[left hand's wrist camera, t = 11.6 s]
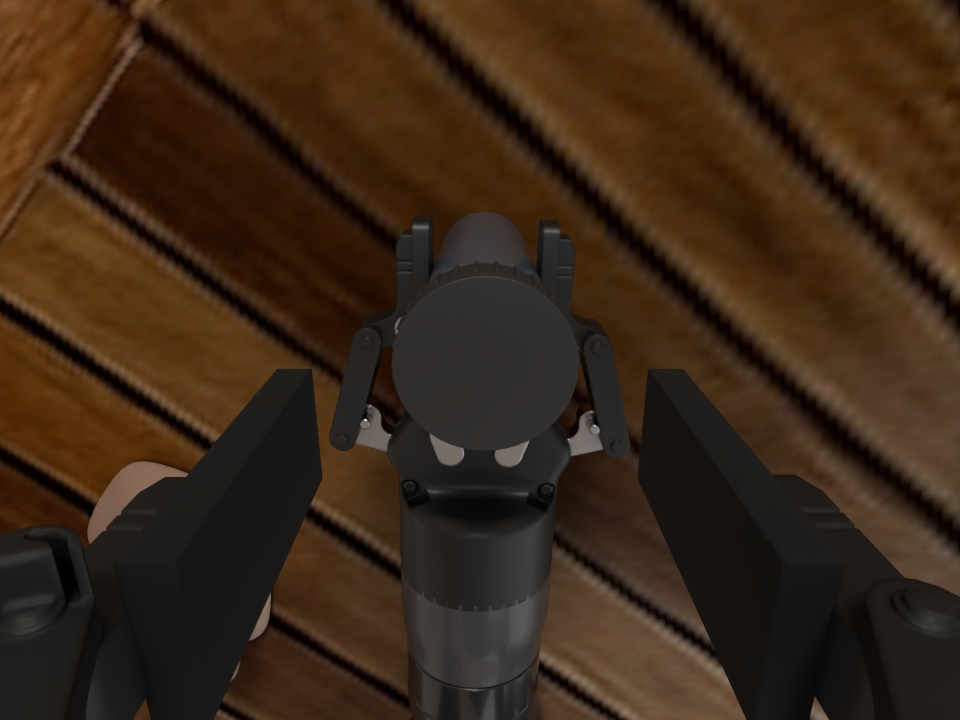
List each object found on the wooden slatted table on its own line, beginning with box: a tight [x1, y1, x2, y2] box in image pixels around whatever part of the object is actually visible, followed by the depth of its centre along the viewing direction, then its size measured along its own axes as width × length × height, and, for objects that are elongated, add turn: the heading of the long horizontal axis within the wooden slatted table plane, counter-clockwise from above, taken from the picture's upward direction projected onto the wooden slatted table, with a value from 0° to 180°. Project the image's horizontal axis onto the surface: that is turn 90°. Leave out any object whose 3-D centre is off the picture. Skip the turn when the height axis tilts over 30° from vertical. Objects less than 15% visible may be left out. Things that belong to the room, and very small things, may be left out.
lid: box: [391, 261, 579, 451], centre depth 18 cm, size 5×5×2 cm
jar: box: [428, 212, 541, 284], centre depth 26 cm, size 5×5×16 cm
